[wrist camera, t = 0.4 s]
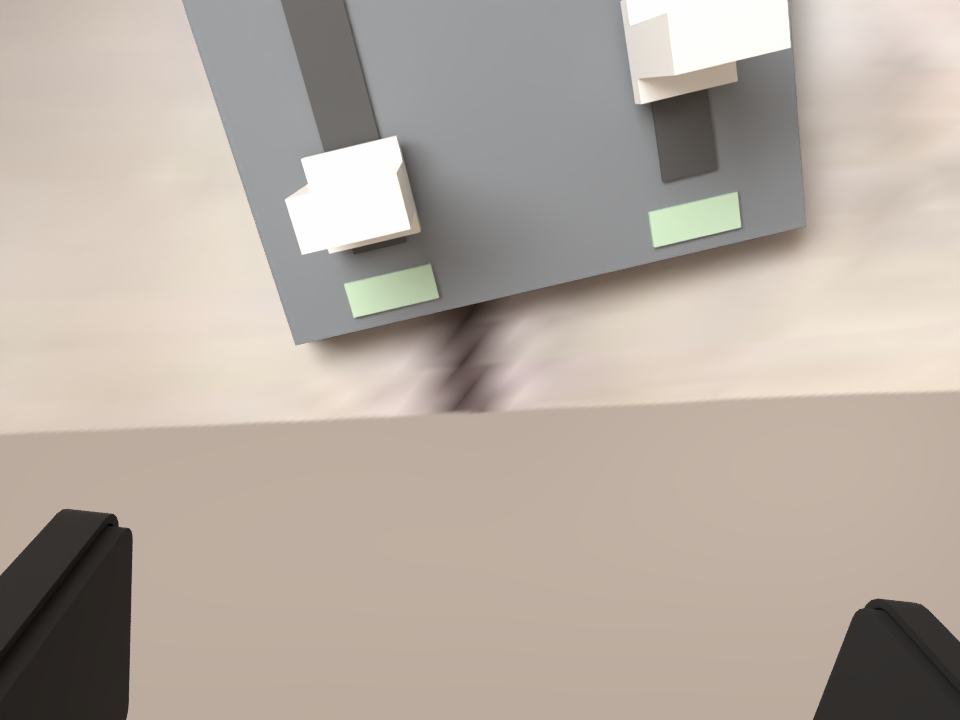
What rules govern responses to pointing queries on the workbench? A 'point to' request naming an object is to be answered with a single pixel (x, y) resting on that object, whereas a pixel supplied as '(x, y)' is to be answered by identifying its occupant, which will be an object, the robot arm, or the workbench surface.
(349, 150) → the breaker handle
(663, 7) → the breaker handle
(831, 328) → the workbench surface
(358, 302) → the breaker panel
